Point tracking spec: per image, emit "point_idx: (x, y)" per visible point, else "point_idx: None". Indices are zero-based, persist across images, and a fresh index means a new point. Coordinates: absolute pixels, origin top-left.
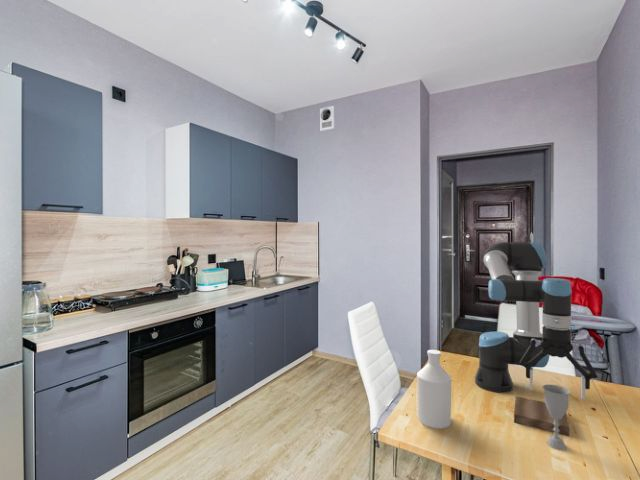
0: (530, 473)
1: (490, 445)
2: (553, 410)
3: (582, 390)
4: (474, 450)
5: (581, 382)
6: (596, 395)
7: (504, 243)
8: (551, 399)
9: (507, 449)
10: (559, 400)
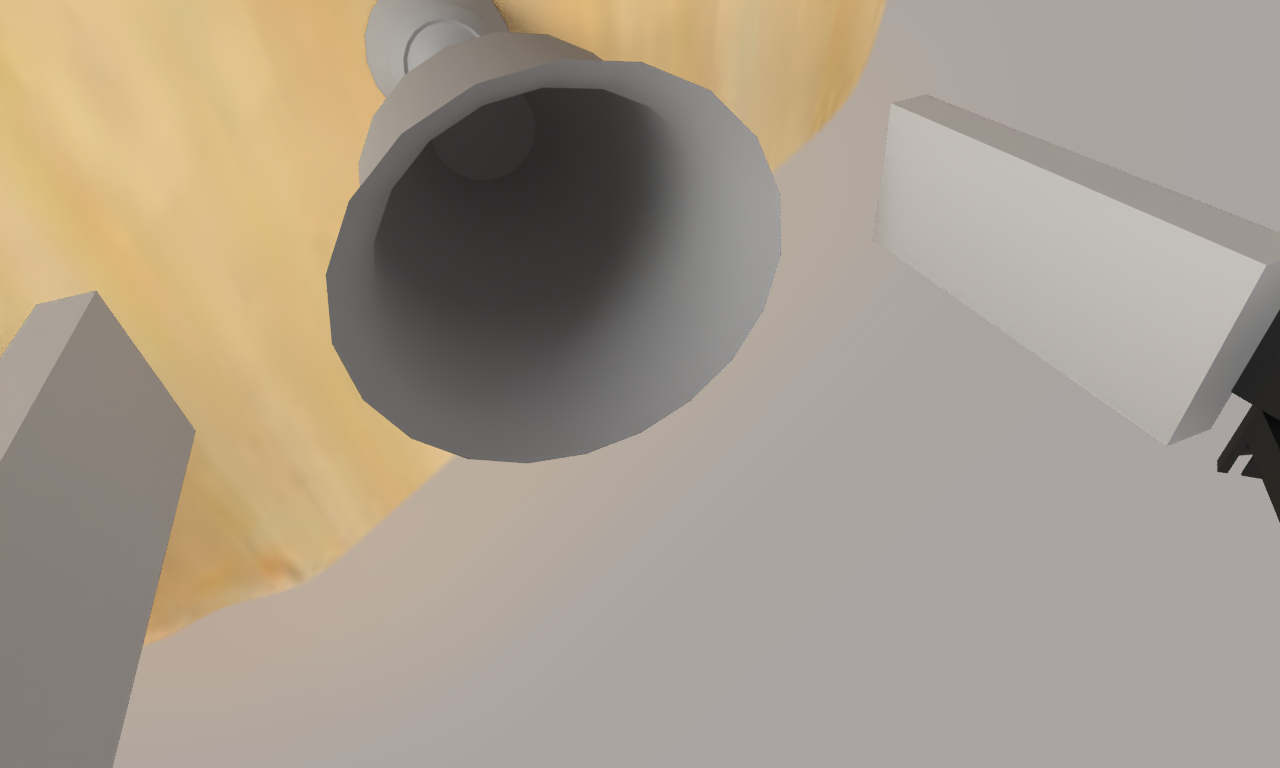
0: (412, 485)
1: None
2: (491, 269)
3: (978, 309)
4: None
5: (1096, 276)
6: None
7: None
8: (498, 363)
9: (198, 388)
10: (597, 347)
